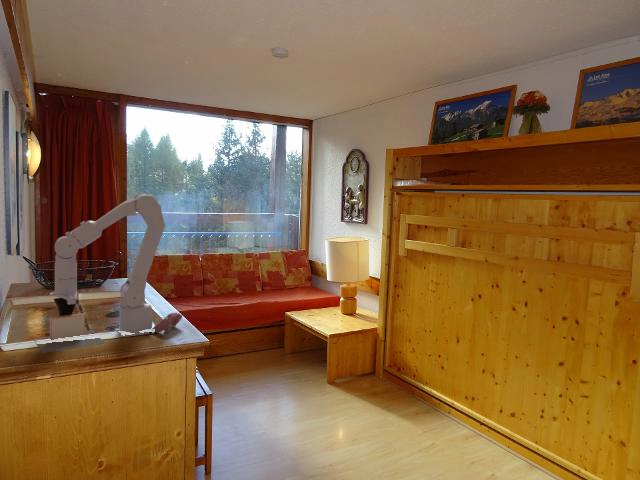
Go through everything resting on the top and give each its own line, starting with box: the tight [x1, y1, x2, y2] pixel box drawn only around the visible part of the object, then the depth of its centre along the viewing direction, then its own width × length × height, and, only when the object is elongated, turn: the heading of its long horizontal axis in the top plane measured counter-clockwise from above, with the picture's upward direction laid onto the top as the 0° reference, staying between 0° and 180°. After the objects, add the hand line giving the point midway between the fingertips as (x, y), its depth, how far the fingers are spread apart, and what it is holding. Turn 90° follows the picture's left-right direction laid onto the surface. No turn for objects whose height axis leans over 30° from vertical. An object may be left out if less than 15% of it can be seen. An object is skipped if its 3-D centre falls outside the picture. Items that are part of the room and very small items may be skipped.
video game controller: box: [152, 311, 183, 334], centre depth 152 cm, size 10×5×7 cm, turn 167°
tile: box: [49, 312, 86, 340], centre depth 136 cm, size 9×2×7 cm, turn 131°
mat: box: [33, 329, 106, 354], centre depth 135 cm, size 16×13×1 cm
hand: (65, 322), depth 138 cm, fingers closed
